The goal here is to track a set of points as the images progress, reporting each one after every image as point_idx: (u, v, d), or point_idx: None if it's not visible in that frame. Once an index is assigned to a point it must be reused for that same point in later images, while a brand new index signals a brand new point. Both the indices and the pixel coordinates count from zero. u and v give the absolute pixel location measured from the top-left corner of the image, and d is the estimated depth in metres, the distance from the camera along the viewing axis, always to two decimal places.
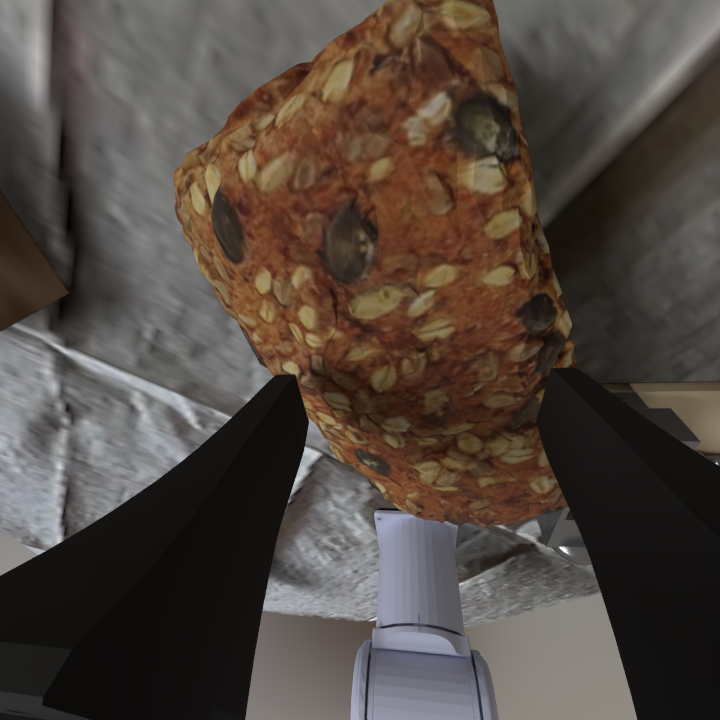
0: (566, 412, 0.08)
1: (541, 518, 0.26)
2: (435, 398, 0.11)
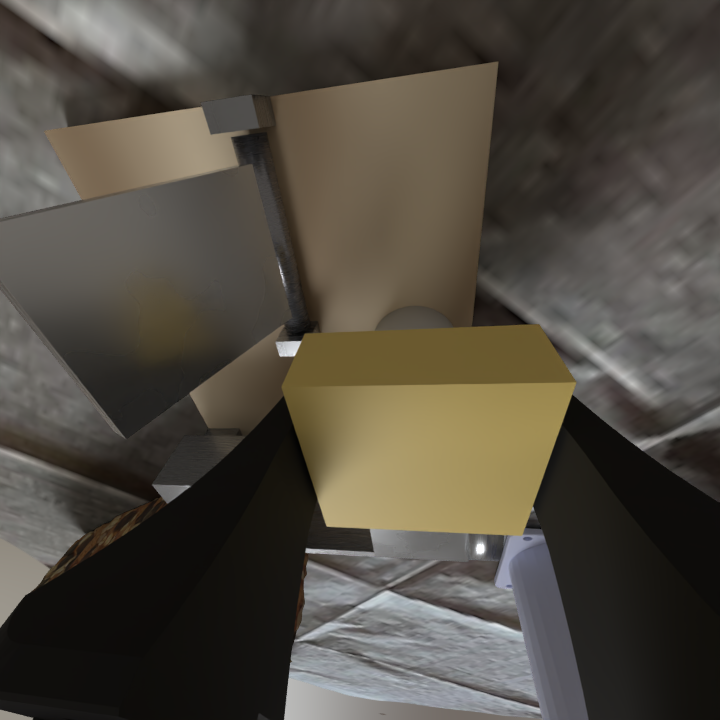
0: None
1: None
2: None
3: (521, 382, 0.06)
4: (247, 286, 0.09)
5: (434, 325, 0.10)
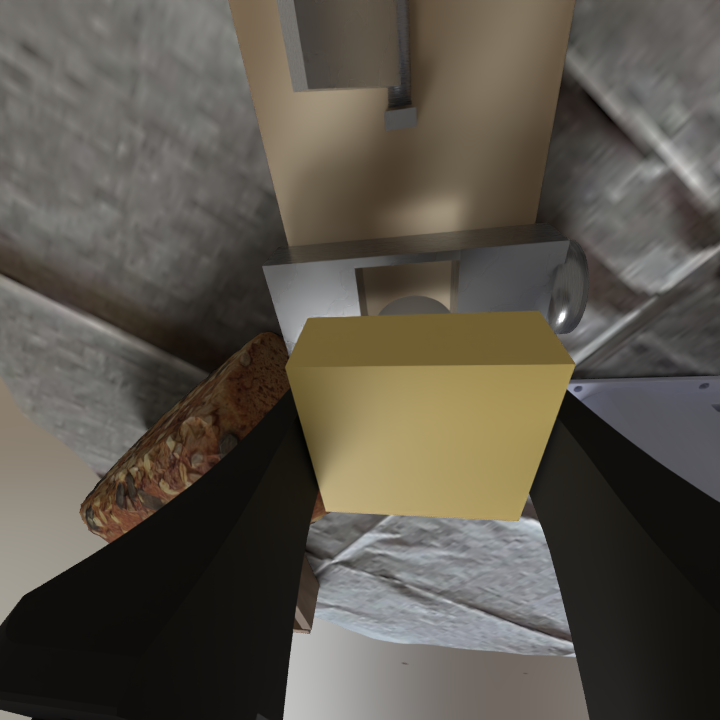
0: None
1: None
2: None
3: (521, 363, 0.06)
4: (380, 18, 0.10)
5: None
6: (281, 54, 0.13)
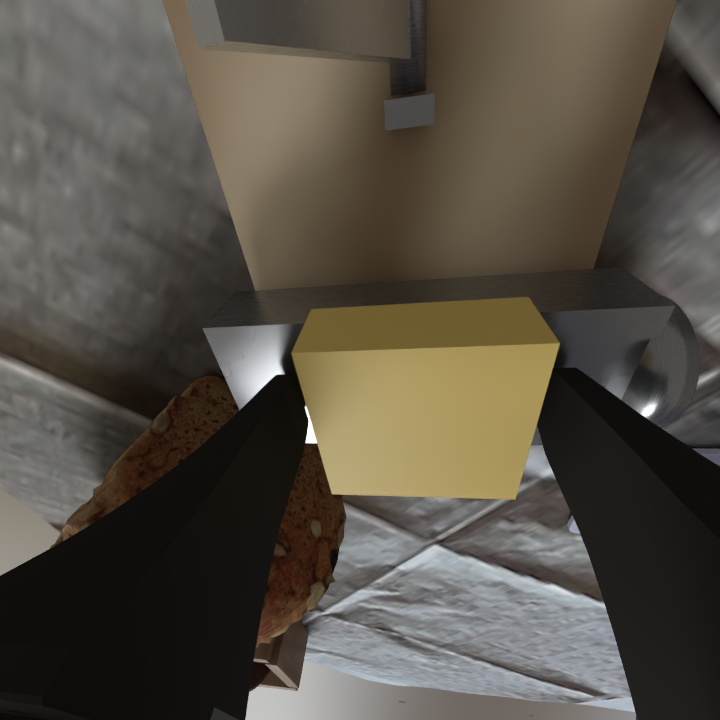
0: (566, 412, 0.08)
1: None
2: None
3: (509, 344, 0.07)
4: None
5: None
6: None
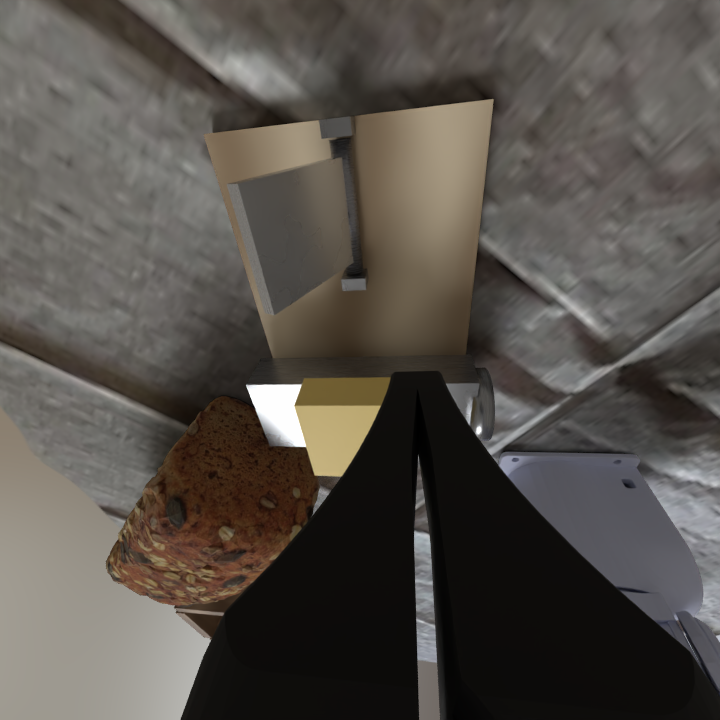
0: (419, 413, 0.09)
1: None
2: (167, 583, 0.23)
3: None
4: (333, 235, 0.14)
5: None
6: None
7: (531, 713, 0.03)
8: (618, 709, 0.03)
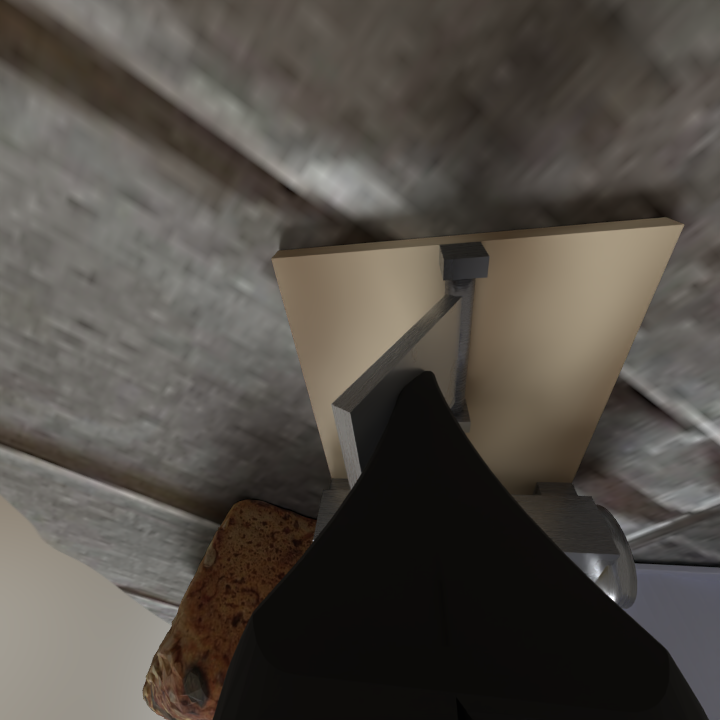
0: None
1: None
2: None
3: None
4: (441, 389, 0.11)
5: None
6: (337, 359, 0.13)
7: (506, 710, 0.03)
8: (592, 706, 0.03)
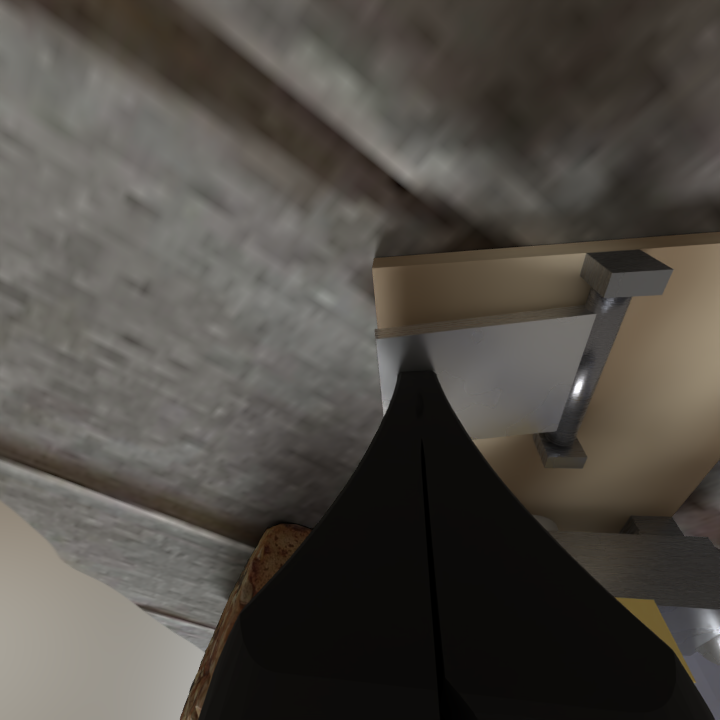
0: None
1: None
2: None
3: None
4: (525, 398, 0.10)
5: None
6: None
7: (512, 711, 0.03)
8: (599, 707, 0.03)
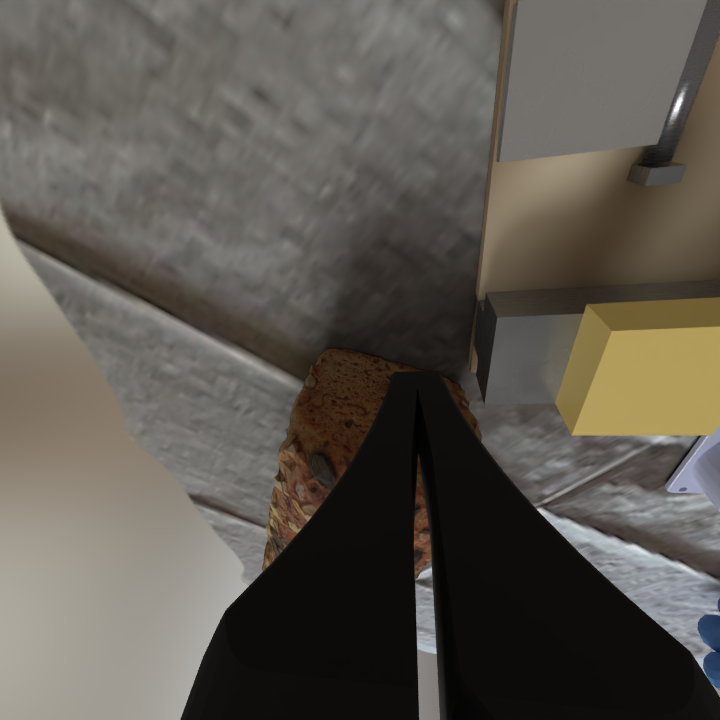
0: (419, 413, 0.09)
1: None
2: None
3: None
4: (635, 91, 0.12)
5: None
6: None
7: (531, 713, 0.03)
8: (618, 709, 0.03)
